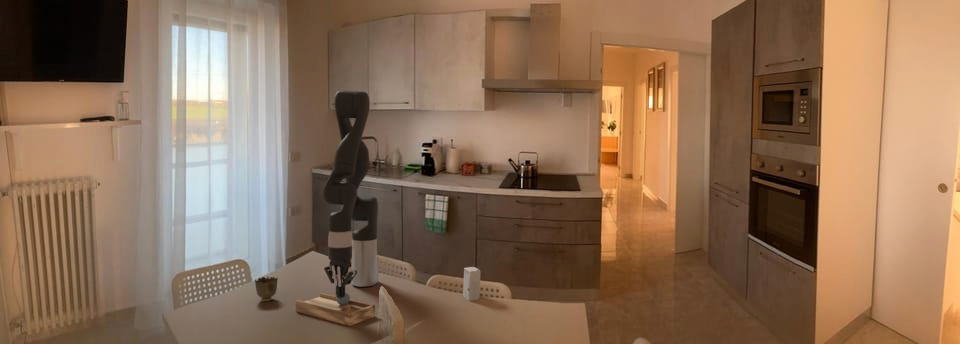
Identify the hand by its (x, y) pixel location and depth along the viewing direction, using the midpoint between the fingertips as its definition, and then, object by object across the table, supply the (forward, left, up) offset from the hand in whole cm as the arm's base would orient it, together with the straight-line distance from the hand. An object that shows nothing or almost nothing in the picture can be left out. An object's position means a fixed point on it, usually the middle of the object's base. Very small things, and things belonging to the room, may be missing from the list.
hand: (340, 297), depth 176 cm
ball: (-2, -1, -1) cm, 3 cm away
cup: (+4, -32, -6) cm, 33 cm away
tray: (0, -2, -6) cm, 6 cm away
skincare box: (-36, +28, -6) cm, 46 cm away
